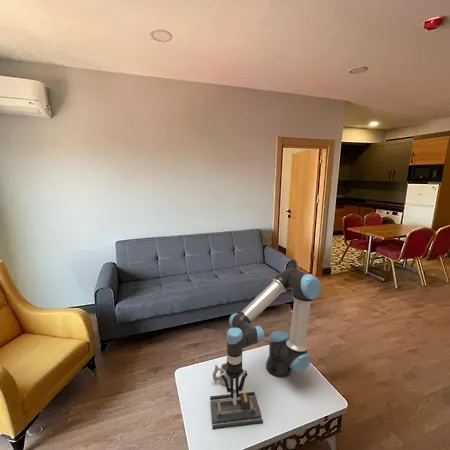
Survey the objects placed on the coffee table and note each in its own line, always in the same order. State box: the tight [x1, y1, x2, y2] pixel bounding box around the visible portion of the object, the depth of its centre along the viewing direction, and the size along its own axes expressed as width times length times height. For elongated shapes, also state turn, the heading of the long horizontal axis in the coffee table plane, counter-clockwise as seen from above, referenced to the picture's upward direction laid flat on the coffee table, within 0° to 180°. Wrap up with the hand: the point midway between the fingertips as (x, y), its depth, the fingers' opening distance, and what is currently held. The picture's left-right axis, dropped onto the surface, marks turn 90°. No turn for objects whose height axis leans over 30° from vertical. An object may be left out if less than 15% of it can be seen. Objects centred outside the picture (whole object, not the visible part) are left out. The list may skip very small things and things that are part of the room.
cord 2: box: [211, 418, 264, 430], centre depth 122 cm, size 24×1×1 cm, turn 97°
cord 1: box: [209, 391, 256, 401], centre depth 138 cm, size 24×1×1 cm, turn 97°
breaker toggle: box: [239, 392, 250, 410], centre depth 130 cm, size 4×5×6 cm
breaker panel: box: [210, 395, 263, 425], centre depth 130 cm, size 24×12×3 cm, turn 97°
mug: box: [212, 362, 230, 388], centre depth 147 cm, size 8×12×12 cm, turn 101°
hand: (234, 402), depth 129 cm, fingers closed
